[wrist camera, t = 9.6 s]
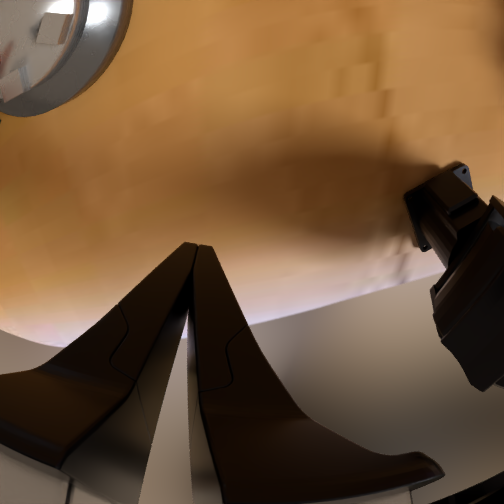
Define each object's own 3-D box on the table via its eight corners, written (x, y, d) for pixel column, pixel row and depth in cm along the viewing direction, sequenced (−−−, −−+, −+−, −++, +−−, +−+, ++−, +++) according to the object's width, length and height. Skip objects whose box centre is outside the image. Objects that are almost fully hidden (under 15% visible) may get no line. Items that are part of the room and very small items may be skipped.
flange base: (174, 14, 14) (166, 11, 13) (7, 193, 21) (-5, 204, 20) (74, -89, 7) (61, -95, 6) (-61, 99, 14) (-75, 105, 13)
